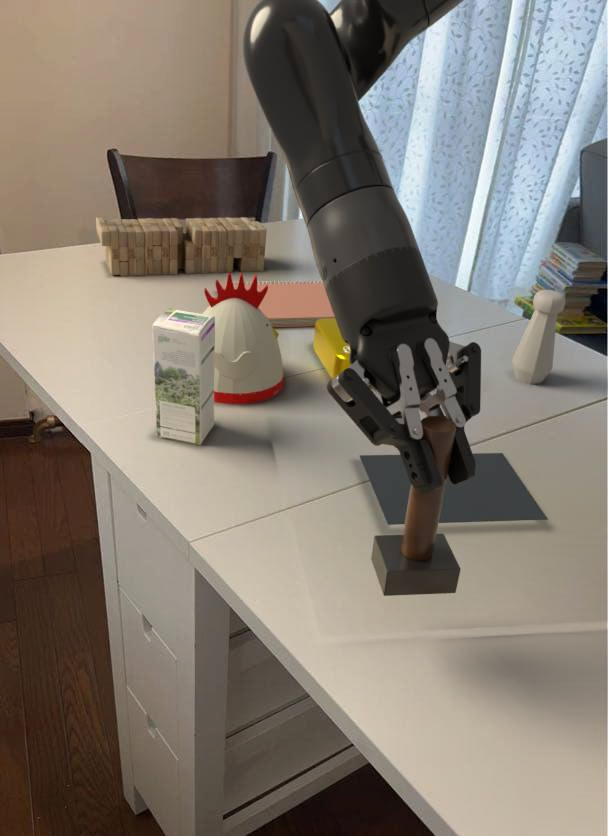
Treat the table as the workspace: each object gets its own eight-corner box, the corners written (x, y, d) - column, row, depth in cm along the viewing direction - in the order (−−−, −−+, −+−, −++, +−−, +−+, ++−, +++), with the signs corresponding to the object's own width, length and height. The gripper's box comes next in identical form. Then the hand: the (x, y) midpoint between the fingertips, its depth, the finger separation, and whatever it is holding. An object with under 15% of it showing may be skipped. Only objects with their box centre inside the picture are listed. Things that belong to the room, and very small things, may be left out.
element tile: (401, 342, 126) (406, 312, 123) (436, 384, 114) (442, 353, 111) (309, 344, 122) (312, 314, 119) (336, 388, 111) (339, 356, 108)
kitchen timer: (284, 407, 105) (292, 295, 96) (179, 403, 104) (177, 289, 95) (280, 362, 116) (286, 258, 107) (184, 358, 115) (183, 252, 106)
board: (500, 461, 98) (502, 452, 97) (545, 528, 87) (548, 519, 86) (358, 463, 95) (359, 455, 94) (386, 533, 84) (387, 524, 83)
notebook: (366, 288, 144) (368, 277, 143) (399, 324, 132) (401, 313, 130) (218, 291, 138) (218, 280, 136) (237, 329, 125) (237, 317, 124)
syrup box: (215, 425, 100) (217, 313, 91) (200, 448, 95) (200, 332, 86) (172, 417, 101) (169, 305, 92) (154, 439, 96) (150, 323, 87)
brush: (439, 556, 69) (467, 408, 61) (455, 593, 65) (489, 439, 57) (370, 559, 68) (390, 408, 60) (383, 596, 64) (407, 440, 56)
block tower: (252, 262, 154) (97, 262, 144) (255, 217, 149) (95, 213, 139) (263, 276, 148) (103, 277, 138) (267, 229, 143) (101, 226, 134)
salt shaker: (500, 376, 118) (522, 289, 111) (523, 367, 122) (545, 282, 114) (533, 391, 115) (558, 303, 107) (555, 381, 118) (580, 295, 111)
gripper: (316, 252, 53) (403, 497, 52) (471, 233, 60) (549, 451, 59) (271, 303, 60) (347, 521, 59) (414, 281, 66) (484, 476, 66)
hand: (448, 484), depth 59 cm, fingers closed on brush, 2 cm apart
